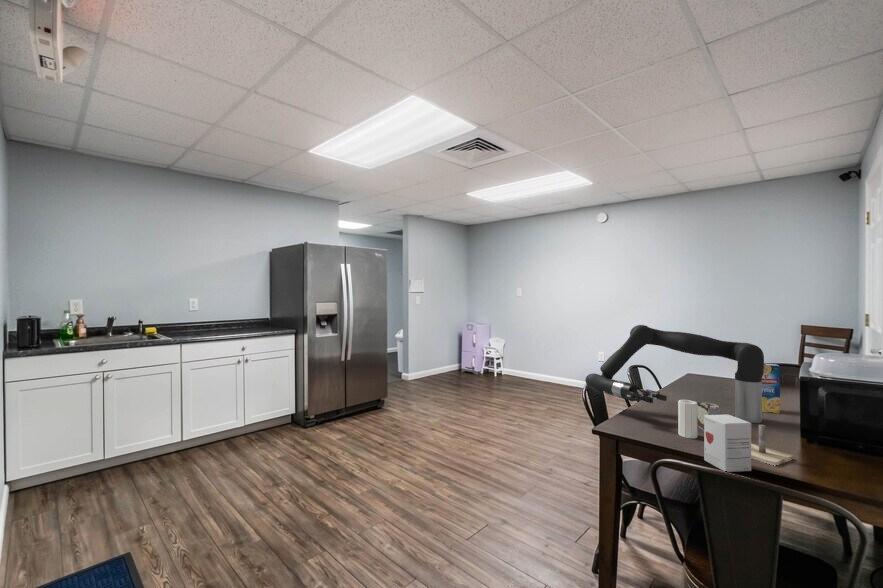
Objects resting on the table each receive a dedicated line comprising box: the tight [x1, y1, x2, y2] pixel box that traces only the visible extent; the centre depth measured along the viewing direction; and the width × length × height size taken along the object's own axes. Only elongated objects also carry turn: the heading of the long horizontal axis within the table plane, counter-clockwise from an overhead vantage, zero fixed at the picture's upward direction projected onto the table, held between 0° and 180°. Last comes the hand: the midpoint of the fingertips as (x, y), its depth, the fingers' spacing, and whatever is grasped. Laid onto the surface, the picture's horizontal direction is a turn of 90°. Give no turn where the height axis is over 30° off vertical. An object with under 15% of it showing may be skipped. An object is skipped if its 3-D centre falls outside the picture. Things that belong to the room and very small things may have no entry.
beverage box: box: [762, 362, 781, 414], centre depth 184 cm, size 7×11×22 cm, turn 71°
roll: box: [677, 399, 698, 439], centre depth 150 cm, size 6×6×13 cm
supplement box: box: [703, 414, 752, 473], centre depth 124 cm, size 9×9×15 cm
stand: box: [751, 424, 794, 467], centre depth 131 cm, size 12×12×10 cm
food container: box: [695, 400, 721, 431], centre depth 157 cm, size 12×6×10 cm, turn 168°
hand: (659, 399), depth 161 cm, fingers open, 8 cm apart
